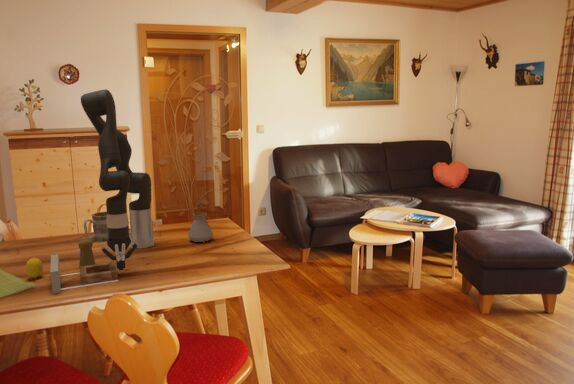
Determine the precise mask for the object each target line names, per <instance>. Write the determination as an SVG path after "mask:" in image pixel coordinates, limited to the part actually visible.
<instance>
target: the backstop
mask: <svg viewBox="0 0 574 384" xmlns="http://www.w3.org/2000/svg"><path fill="white" fill-rule="evenodd" d="M49 272H50V281H51V291H52V295H54V294H61V291H65V290H66V291H67V290H72V289H78V288H79V289H80V288H85V287H90V286H91V287H93V286H98V285H105V284H110V283H117V282H119V279H118V280H112V281H106V282H99V283H93V284H87V285H82V284H81V285H75V286H68V287H64V288H63V287H62V288H61V278H63V277H69V276H76V275H77V276H78V275H80V271H79V272H75V273H73V272H72V273H67V274H66V273H65V274H61V270H60V259H59V254H58V253H57V254H51V255H50V271H49Z"/></svg>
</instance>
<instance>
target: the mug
mask: <svg viewBox="0 0 574 384" xmlns="http://www.w3.org/2000/svg"><path fill="white" fill-rule="evenodd" d="M91 217H92V219H89V218H86V219H85V220H84V221H83V229H84V235H85V237H86V238H85V239H90V240H92V239H93V240H94V242H99V243H100V242H102V243H105V242H107V241H108V232H107V211H100V212H95V213H92V214H91ZM87 222H90V223H91V224H92V230H93V235H91V236H89V235H88V234H89V233H88V227H87Z"/></svg>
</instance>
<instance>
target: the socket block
mask: <svg viewBox="0 0 574 384" xmlns="http://www.w3.org/2000/svg"><path fill="white" fill-rule="evenodd" d="M95 264H96V263H95ZM79 272H80V274H79V275H80V282H81V283H80V284H81V285H87V284H93V283H100V282H106V281H112V280H118V281H119V278H118V269H117V266H116V265H115V262H114V261H111V262H103V263H97V264H96V265H89V266H81V267H80V268H79Z"/></svg>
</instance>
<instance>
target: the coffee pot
mask: <svg viewBox="0 0 574 384" xmlns="http://www.w3.org/2000/svg"><path fill="white" fill-rule="evenodd" d="M207 215H208V213H207V212H203V211H202V212H201V203H199V202H198V203H197V212H194V213H192V216H193V221H192V224H191V226H190V228H189V231H188V234H187V237H188V239H189V240H190V241H191V242H193V241H194V242H193V243H195V242H203V243H205V242H204V241H207V242H209V241H210V240H211V239H212V237H213V235H214V233H213V231H212V229H211V227H210V225H209V222H208V221H207V218H206V217H207ZM208 240H209V241H208Z"/></svg>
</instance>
